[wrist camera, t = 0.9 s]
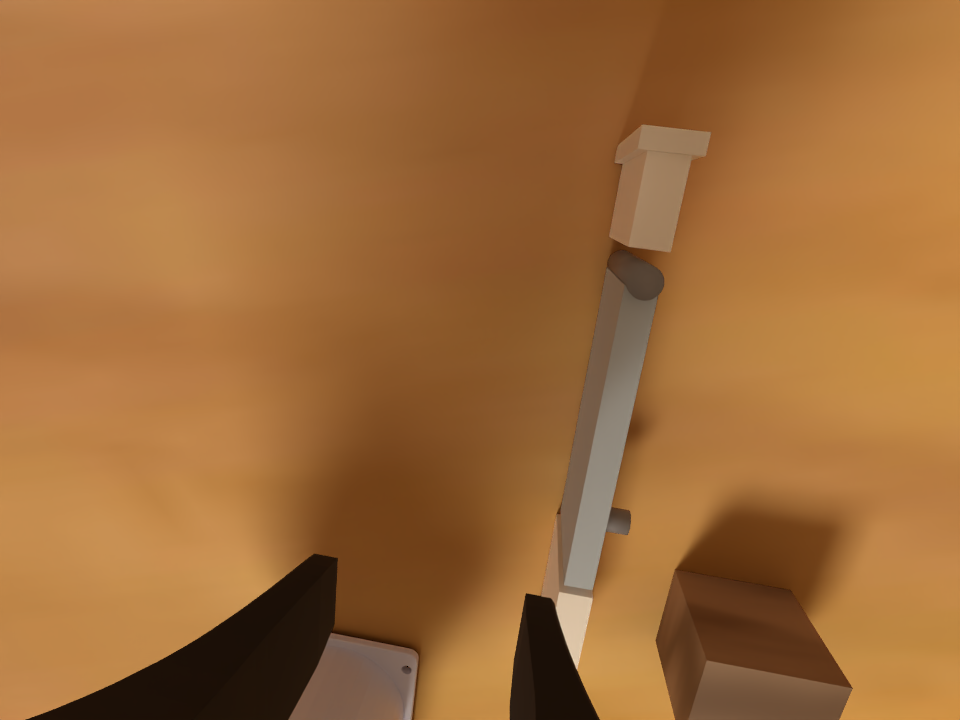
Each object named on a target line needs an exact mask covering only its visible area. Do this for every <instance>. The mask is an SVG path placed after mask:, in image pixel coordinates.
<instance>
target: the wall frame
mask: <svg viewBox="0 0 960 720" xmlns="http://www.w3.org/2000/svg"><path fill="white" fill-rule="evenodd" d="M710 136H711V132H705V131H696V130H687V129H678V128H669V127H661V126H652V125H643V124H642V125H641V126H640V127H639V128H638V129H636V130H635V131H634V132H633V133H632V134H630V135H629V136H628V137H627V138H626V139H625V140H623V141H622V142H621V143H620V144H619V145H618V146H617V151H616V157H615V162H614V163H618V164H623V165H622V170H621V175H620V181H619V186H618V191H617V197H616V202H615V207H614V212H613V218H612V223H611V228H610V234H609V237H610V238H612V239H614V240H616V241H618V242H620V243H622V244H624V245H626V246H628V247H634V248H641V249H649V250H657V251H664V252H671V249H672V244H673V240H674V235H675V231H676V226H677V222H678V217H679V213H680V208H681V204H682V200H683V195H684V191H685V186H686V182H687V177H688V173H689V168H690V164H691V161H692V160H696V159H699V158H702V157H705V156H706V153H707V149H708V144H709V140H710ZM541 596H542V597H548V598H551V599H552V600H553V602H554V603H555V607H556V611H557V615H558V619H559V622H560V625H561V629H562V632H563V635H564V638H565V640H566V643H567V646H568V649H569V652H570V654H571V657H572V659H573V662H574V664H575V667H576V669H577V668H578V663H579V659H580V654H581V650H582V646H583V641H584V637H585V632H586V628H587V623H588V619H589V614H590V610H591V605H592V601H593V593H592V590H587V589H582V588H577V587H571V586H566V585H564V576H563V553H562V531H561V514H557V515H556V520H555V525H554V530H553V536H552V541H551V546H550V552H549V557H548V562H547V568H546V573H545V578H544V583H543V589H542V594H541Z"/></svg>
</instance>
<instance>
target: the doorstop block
mask: <svg viewBox="0 0 960 720" xmlns="http://www.w3.org/2000/svg"><path fill="white" fill-rule="evenodd" d="M656 644H657V648H658V652H659V656H660V660H661V664H662V668H663V672H664V676H665V680H666V684H667V688H668V692H669V696H670V700H671V704H672V708H673V712H674V716H675V720H839V719H840V717H841V714H842V712H843V710H844V707H845V705H846V703H847V700H848V698H849V696H850V693H851V691H852V689H853V688H852V687H851V685H850V683H849V682H848V680H847V679H846V677H845V676H844V674H843V672H842V671H841V669H840V668H839V666H838V664H837V663H836V661H835V660H834V658H833V657H832V655H831V653H830V652H829V650H828V649H827V647H826V645H825V644H824V642H823V641H822V639H821V638H820V636H819V634H818V633H817V631H816V630H815V628H814V626H813V625H812V623H811V622H810V620H809V619H808V617H807V615H806V614H805V612H804V611H803V609H802V607H801V606H800V604H799V603H798V601H797V600H796V598H795V596H794V595H793V593H792V592H791V590H786V589H781V588H775V587H770V586H764V585H758V584H753V583H747V582H742V581H736V580H730V579H725V578H719V577H714V576H708V575H702V574H697V573H691V572H686V571H680V570H675V572H674V575H673V579H672V583H671V586H670V590H669V593H668V597H667V601H666V604H665V608H664V612H663V615H662V619H661V623H660V626H659V630H658V634H657V637H656Z"/></svg>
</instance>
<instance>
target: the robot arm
mask: <svg viewBox="0 0 960 720" xmlns="http://www.w3.org/2000/svg"><path fill="white" fill-rule="evenodd" d="M337 562H338V558H334V557H329V556H323V555H318V554H313V555H312V556H310V557H309V558H308V559H307V560H305V561H304V562H303V563H301V564H300V565H299V566H298V567H296V568H295V569H294V570H293V571H291V572H290V573H289V574H288V575H286V576H285V577H284V578H282V579H281V580H280V581H279V582H277V583H276V584H275V585H273V586H272V587H271V588H270V589H268V590H267V591H266V592H264V593H263V594H262V595H260V596H259V597H258V598H256V599H255V600H254V601H252V602H251V603H250V604H248V605H247V606H245V607H244V608H243V609H241V610H240V611H238V612H237V613H236V614H234V615H233V616H231V617H230V618H228V619H227V620H225V621H224V622H222V623H221V624H219V625H218V626H216V627H215V628H214V629H212V630H211V631H209V632H207V633H206V634H204V635H203V636H201V637H200V638H198V639H196V640H195V641H193V642H192V643H190V644H188V645H187V646H185V647H183V648H181V649H180V650H178V651H176V652H174V653H173V654H171V655H169V656H167V657H166V658H164V659H162V660H160V661H158V662H156V663H154V664H152V665H150V666H148V667H146V668H144V669H142V670H140V671H138V672H136V673H134V674H132V675H130V676H128V677H126V678H124V679H122V680H120V681H118V682H116V683H114V684H112V685H110V686H108V687H105V688H103V689H101V690H99V691H96V692H94V693H92V694H90V695H87V696H85V697H83V698H80V699H78V700H76V701H73V702H71V703H68V704H66V705H63V706H61V707H59V708H56V709H53V710H51V711H48V712H46V713H43V714H40V715H38V716H35V717H32V718H29V719H26V720H412V714H413V705H414V696H415V687H416V678H417V669H418V660H419V657H418V654H417V652H415V651H414V650H413V649H410V648H405V647H400V646H395V645H390V644H385V643H380V642H375V641H370V640H365V639H360V638H354V637H349V636H344V635H339V634H334V633H331V632H332V629H333V626H334V622H335V602H336V582H337ZM405 666H408V667H410V668H408V667H405ZM510 720H600V719H599V717H598V715H597V713H596V711H595V709H594V707H593V705H592V703H591V701H590V699H589V697H588V695H587V692H586V690H585V688H584V686H583V683H582V681H581V679H580V676H579V674H578V671H577V669H576V667H575V664H574V662H573V659H572V657H571V654H570V652H569V649H568V646H567V643H566V640H565V638H564V635H563V632H562V629H561V625H560V622H559V619H558V615H557V611H556V607H555V603H554V602H553V600H552V599H551V598H548V597H542V596H537V595H532V594H526V596H525V601H524V607H523V612H522V618H521V624H520V629H519V635H518V641H517V646H516V652H515V657H514V666H513V676H512V687H511V698H510Z"/></svg>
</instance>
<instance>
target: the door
mask: <svg viewBox="0 0 960 720" xmlns="http://www.w3.org/2000/svg"><path fill="white" fill-rule="evenodd" d="M663 287H664V277H663V274H662V273H661V271H660V270H659V269H657V268H656V267H654V266H652V265H651V264H649V263H647V262H645V261H644V260H642V259H640V258H638V257H637V256H635V255H633V254H631V253H630V252H628V251H625V250H619V251H616V252H614V253H613V254H612V255H611V256H610V258H609V260H608V267H607V269H606V274H605V280H604V285H603V290H602V295H601V301H600V306H599V311H598V316H597V322H596V327H595V332H594V337H593V343H592V348H591V353H590V358H589V363H588V369H587V374H586V379H585V384H584V390H583V395H582V400H581V405H580V411H579V416H578V421H577V426H576V432H575V437H574V442H573V447H572V453H571V458H570V463H569V468H568V474H567V479H566V484H565V489H564V495H563V500H562V505H561V531H562V553H563V576H564V585H566V586H571V587H577V588H582V589H587V590H593V586H594V582H595V577H596V573H597V568H598V564H599V559H600V555H601V550H602V546H603V541H604V537H605V532H612V533H618V534H623V535H628V533H629V530H630V524H631V514H630V511H629V510H624V509H618V508H612V507H611V505H612V501H613V496H614V492H615V487H616V483H617V478H618V474H619V469H620V465H621V460H622V456H623V451H624V447H625V442H626V438H627V433H628V429H629V425H630V420H631V416H632V411H633V407H634V402H635V398H636V393H637V389H638V384H639V380H640V375H641V371H642V366H643V362H644V357H645V353H646V348H647V344H648V339H649V335H650V330H651V326H652V321H653V317H654V312H655V308H656V303H657V299H658V295H659V294H660V293H661V291H662V289H663Z"/></svg>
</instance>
